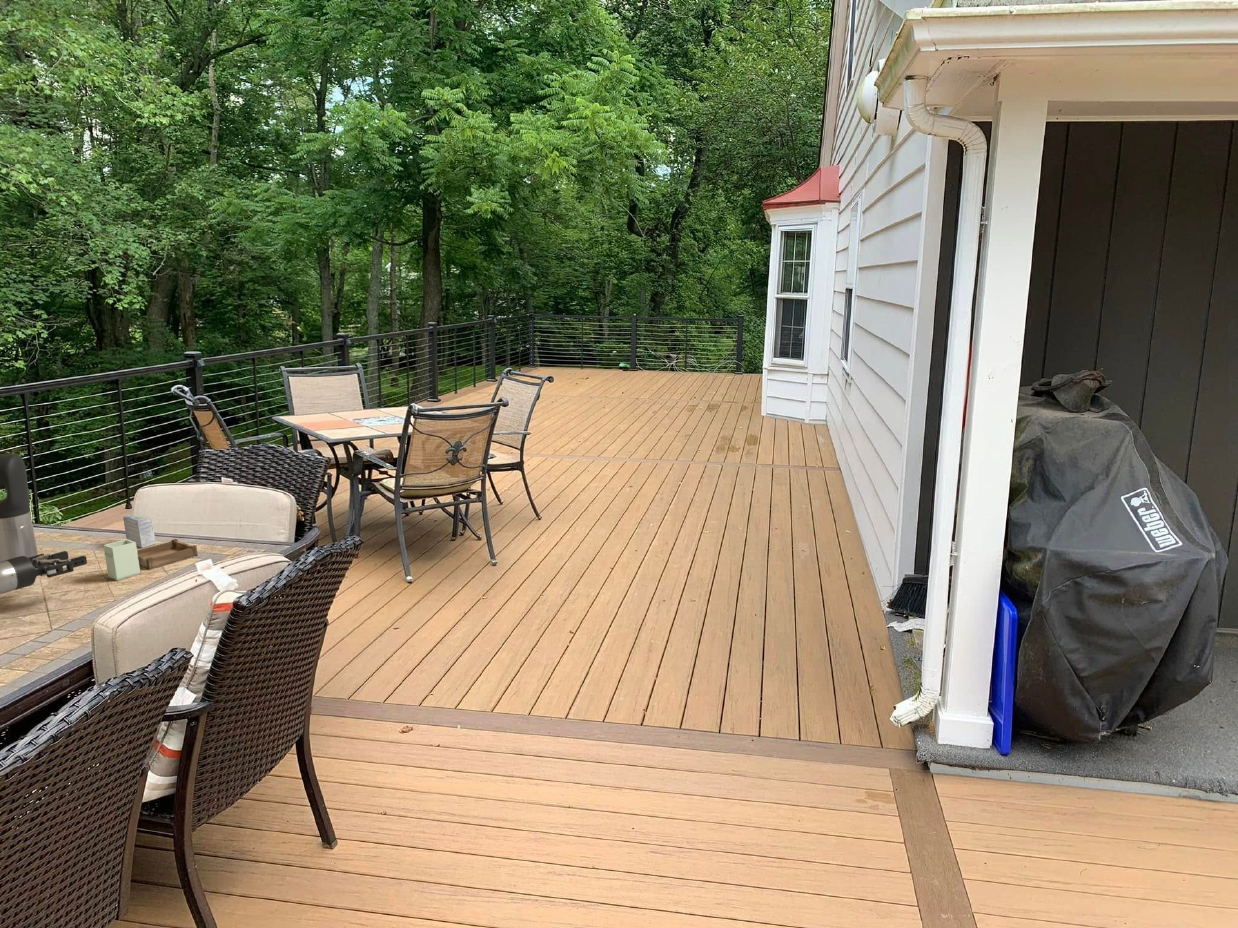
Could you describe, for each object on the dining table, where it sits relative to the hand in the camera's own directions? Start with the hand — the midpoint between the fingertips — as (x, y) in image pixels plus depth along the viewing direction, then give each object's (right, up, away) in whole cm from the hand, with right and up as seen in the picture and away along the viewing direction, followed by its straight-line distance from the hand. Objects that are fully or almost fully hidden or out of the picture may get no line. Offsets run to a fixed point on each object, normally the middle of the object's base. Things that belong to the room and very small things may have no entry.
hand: (76, 557), depth 227 cm
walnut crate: (+10, -3, +25) cm, 27 cm away
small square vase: (+6, -6, +12) cm, 14 cm away
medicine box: (-4, 0, +38) cm, 38 cm away
